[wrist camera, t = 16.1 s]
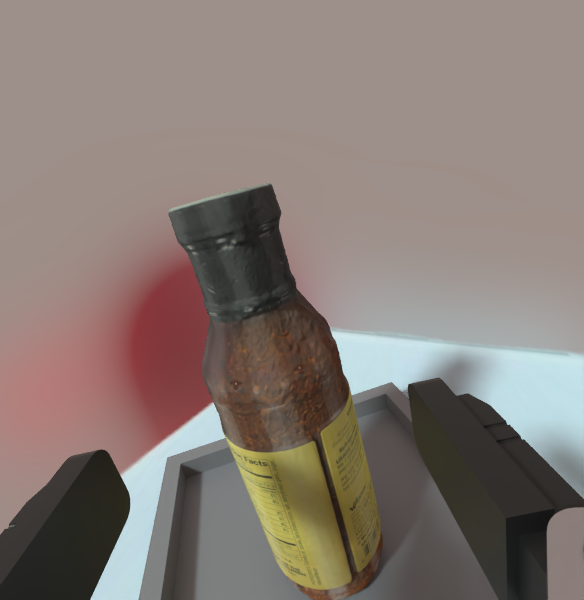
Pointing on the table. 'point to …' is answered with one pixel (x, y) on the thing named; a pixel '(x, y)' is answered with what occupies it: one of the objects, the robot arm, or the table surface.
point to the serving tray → (255, 547)
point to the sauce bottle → (282, 396)
